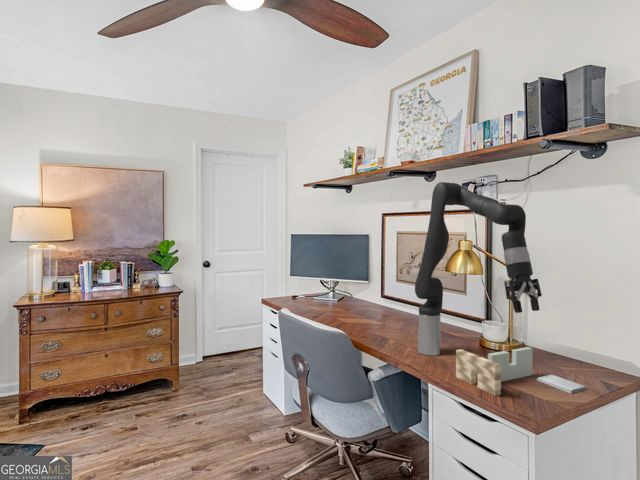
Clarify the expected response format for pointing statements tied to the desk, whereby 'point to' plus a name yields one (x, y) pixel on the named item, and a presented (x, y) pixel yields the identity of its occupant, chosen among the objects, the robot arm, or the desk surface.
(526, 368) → the slotted plate
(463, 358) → the pale wooden plank
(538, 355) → the desk surface
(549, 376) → the hard drive
